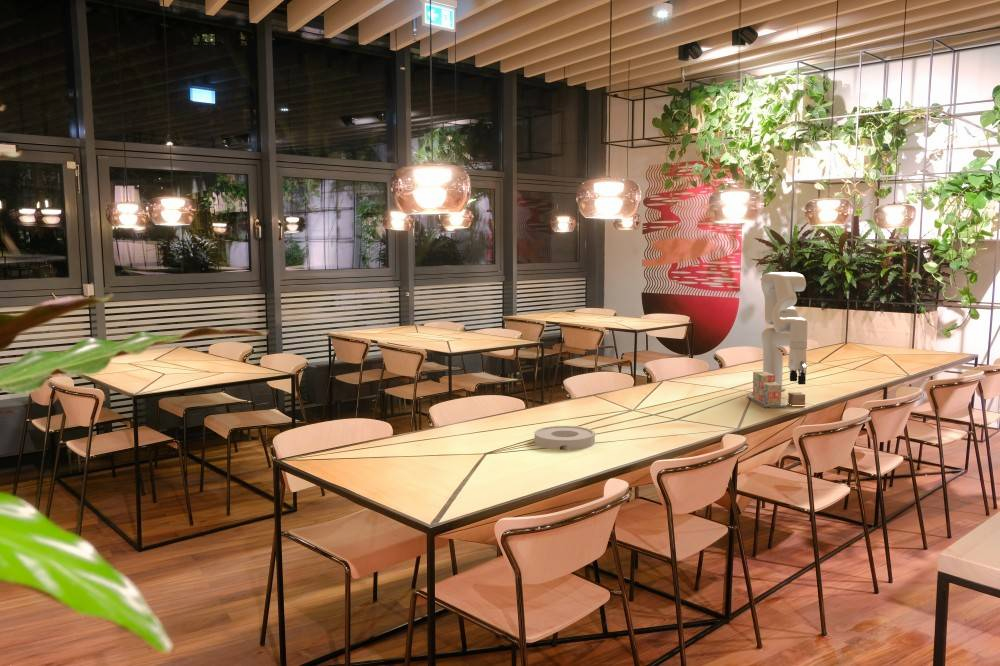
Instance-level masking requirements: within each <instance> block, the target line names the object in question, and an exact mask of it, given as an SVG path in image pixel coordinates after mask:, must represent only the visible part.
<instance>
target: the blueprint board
mask: <svg viewBox="0 0 1000 666" xmlns="http://www.w3.org/2000/svg"><path fill="white" fill-rule="evenodd" d="M747 397H748V398H750V399H751V400H750V399H749V400H750V401H752V400H753V401H755V402H756V403H755V402H754V403H755V404H757V403H758V404H759V405H758V404H757V405H758V406H760V405H761V407H762V406H763V407H787V408H788V405H787V404H785V403H783V402H781V405H767V404H765V403H764V402H762V401H760V400H758V399H756V398H755V397H753V395H747V396H746V398H747ZM748 398H747V399H748ZM753 401H752V402H753ZM763 407H762V408H763Z"/></svg>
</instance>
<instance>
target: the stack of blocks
mask: <svg viewBox="0 0 1000 666" xmlns="http://www.w3.org/2000/svg"><path fill="white" fill-rule="evenodd" d="M782 386H783V384H782V385H780V384H778V383H776V382H775V375H773V374H770V373H768V372H766V371H765V372H763V371H753V372H752V396H753V397H755V398H756V399H758V400H760V401H762V402H764V403H765V404H767V405H781V403H782V399H781V398H782V391H781V390H782Z"/></svg>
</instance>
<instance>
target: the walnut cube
mask: <svg viewBox="0 0 1000 666" xmlns="http://www.w3.org/2000/svg"><path fill="white" fill-rule="evenodd" d="M787 395H788V398H787V399H788V400H787V404H788V403H789V404H791V405H805V406H806V394H805V393H803V392H799V391H798V392H788V393H787ZM789 404H788V405H789Z"/></svg>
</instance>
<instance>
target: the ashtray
mask: <svg viewBox="0 0 1000 666" xmlns="http://www.w3.org/2000/svg"><path fill="white" fill-rule="evenodd" d="M533 434H534V444H535V445H536V446H538V447H541V448H544V449H548V450H555V451H556V450H559V451H560V450H561V449H563V450H566V451H573V450H574V451H575V450H582V449H587V448H590V447H592V446H594V445H595V439H596V431H594V430H593V429H590V428H588V427H584V426H576V425H553V426H546V427H541V428H538V429H536V430H535V431H534V433H533Z"/></svg>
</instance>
